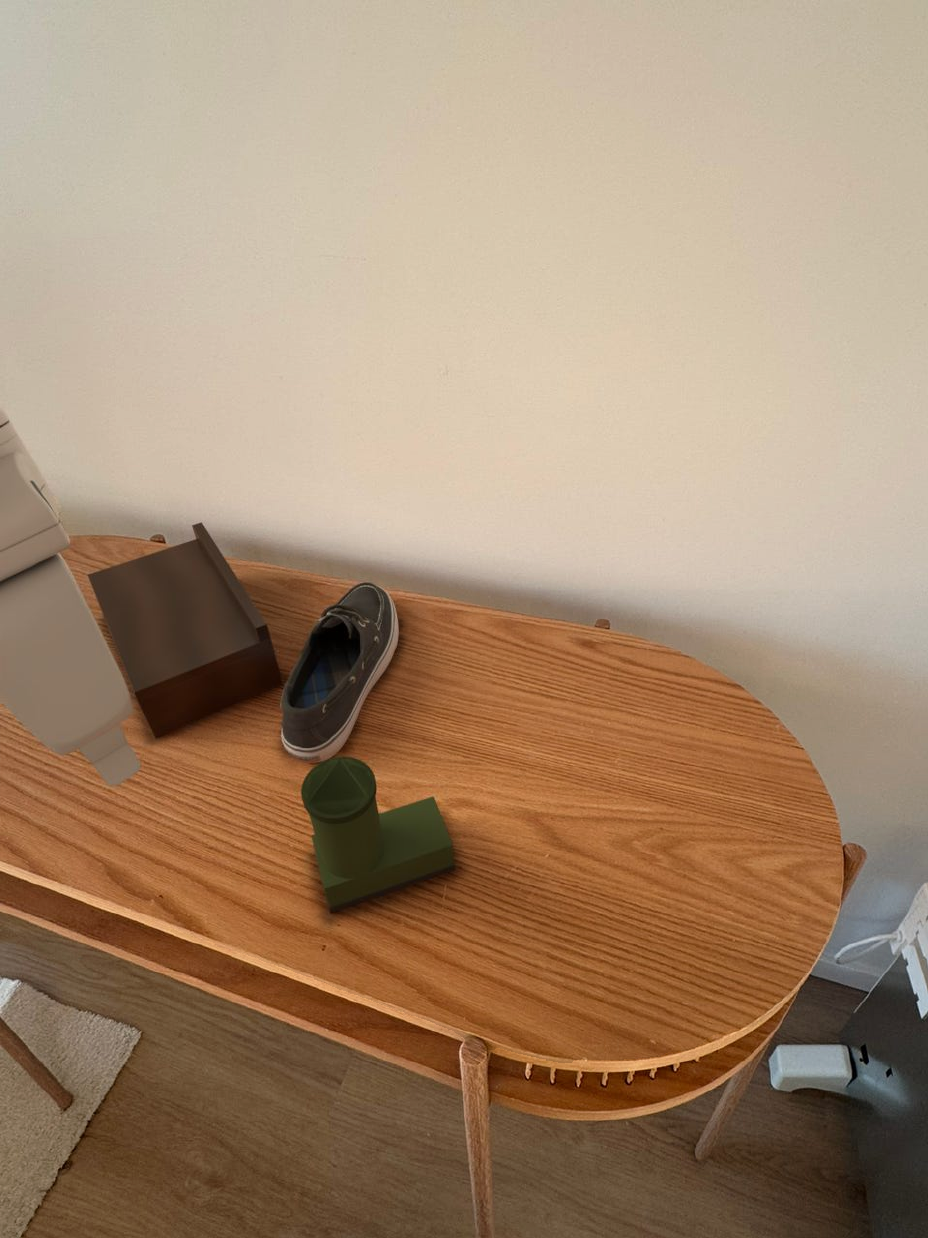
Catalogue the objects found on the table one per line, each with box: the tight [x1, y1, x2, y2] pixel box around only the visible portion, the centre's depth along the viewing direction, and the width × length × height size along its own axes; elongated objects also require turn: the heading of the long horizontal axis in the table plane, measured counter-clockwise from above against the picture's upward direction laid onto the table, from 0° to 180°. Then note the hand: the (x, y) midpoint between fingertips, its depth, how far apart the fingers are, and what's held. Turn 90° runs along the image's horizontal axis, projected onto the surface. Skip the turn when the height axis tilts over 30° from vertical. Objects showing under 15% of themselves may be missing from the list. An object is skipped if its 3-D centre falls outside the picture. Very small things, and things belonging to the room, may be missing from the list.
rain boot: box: [300, 756, 457, 914], centre depth 60 cm, size 11×6×13 cm, turn 110°
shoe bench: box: [87, 521, 284, 739], centre depth 82 cm, size 14×22×9 cm, turn 32°
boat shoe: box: [279, 582, 400, 764], centre depth 79 cm, size 26×9×8 cm, turn 165°
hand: (100, 740), depth 41 cm, fingers open, 8 cm apart
